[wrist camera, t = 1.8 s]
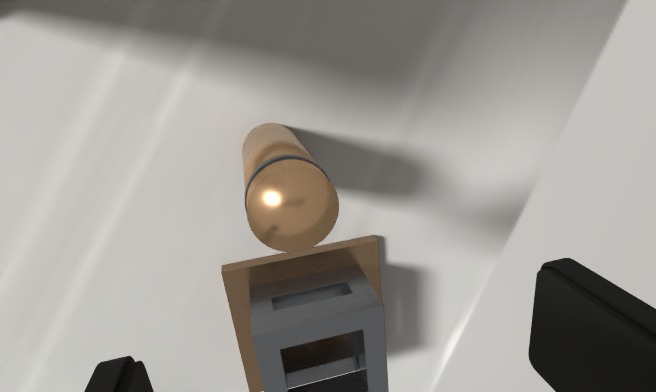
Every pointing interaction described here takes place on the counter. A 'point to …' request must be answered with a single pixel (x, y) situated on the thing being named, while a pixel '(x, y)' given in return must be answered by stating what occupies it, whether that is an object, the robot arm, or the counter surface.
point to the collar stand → (311, 318)
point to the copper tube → (286, 191)
